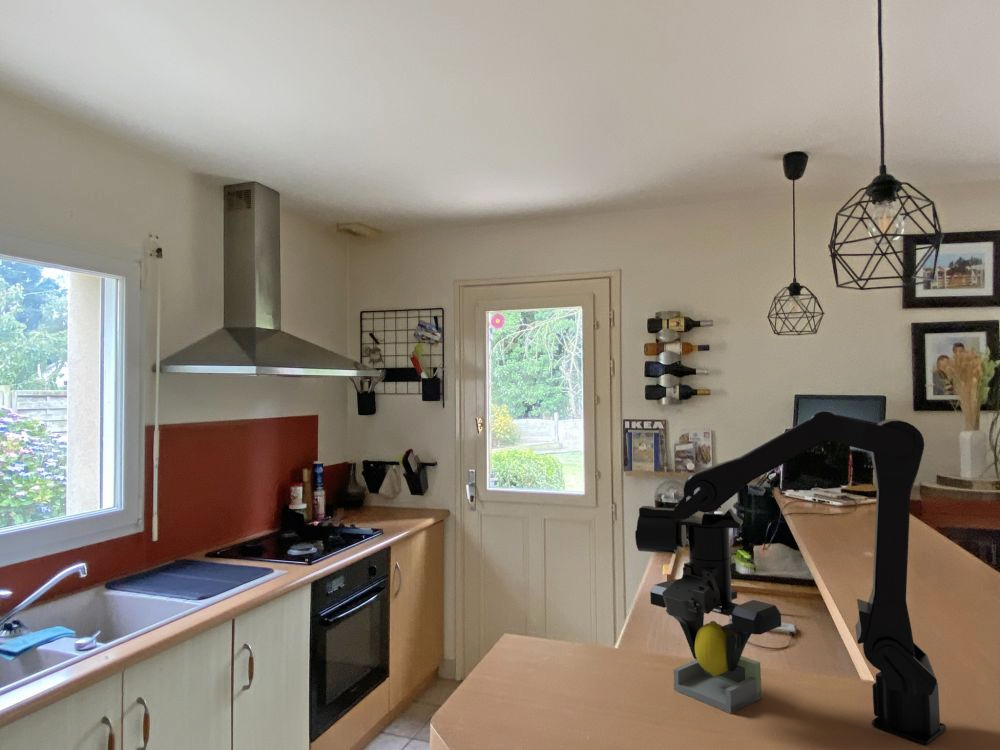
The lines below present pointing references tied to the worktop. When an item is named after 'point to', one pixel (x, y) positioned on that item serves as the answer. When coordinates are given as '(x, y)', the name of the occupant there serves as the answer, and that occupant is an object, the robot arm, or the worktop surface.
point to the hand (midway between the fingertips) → (714, 664)
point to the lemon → (711, 649)
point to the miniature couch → (721, 684)
